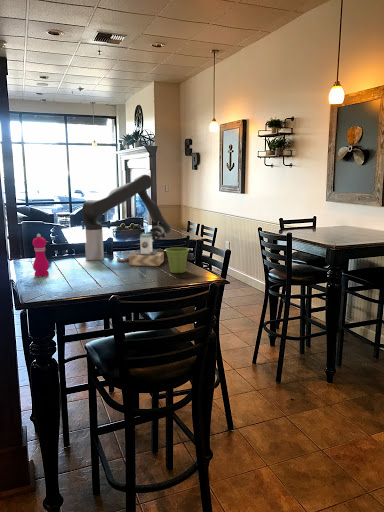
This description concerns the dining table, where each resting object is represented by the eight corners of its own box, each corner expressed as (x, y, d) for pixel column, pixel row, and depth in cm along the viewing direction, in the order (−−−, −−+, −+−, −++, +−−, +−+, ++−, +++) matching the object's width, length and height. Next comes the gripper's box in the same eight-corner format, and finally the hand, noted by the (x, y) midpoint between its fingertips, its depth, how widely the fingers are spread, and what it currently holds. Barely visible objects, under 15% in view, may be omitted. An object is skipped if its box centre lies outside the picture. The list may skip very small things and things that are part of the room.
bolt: (117, 262, 226) (117, 257, 225) (117, 261, 229) (117, 256, 228) (131, 261, 227) (131, 256, 227) (131, 260, 230) (131, 255, 230)
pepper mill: (45, 273, 201) (42, 232, 198) (52, 275, 196) (49, 233, 193) (31, 275, 196) (27, 233, 193) (37, 278, 191) (34, 235, 188)
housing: (140, 254, 220) (139, 235, 218) (143, 252, 226) (142, 233, 225) (149, 254, 219) (149, 235, 217) (152, 252, 226) (151, 233, 224)
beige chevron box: (129, 265, 219) (129, 255, 218) (135, 260, 231) (135, 250, 230) (159, 265, 217) (158, 255, 216) (163, 260, 229) (163, 251, 228)
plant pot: (192, 269, 206) (191, 247, 204) (186, 275, 195) (186, 251, 193) (169, 268, 209) (168, 246, 207) (162, 274, 198) (161, 250, 196)
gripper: (144, 226, 247) (137, 230, 231) (168, 226, 245) (162, 230, 230) (145, 239, 249) (138, 243, 233) (168, 239, 247) (163, 243, 231)
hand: (150, 236), depth 231 cm, fingers open, 8 cm apart
